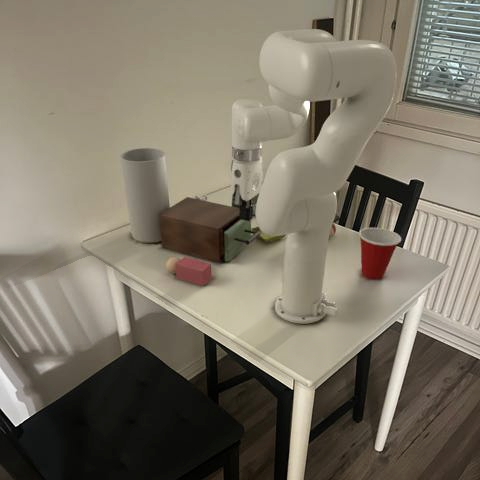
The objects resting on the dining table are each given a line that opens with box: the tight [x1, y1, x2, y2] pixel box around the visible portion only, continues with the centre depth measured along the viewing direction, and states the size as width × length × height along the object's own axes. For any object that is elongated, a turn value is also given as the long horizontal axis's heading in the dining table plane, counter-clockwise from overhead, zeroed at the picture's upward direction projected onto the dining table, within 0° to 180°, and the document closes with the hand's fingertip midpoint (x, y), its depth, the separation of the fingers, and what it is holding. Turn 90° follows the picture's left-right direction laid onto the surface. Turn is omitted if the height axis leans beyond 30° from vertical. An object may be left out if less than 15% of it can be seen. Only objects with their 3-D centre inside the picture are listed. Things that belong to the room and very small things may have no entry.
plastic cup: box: [358, 227, 402, 280], centre depth 130 cm, size 11×11×12 cm
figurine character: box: [329, 214, 342, 238], centre depth 147 cm, size 7×8×15 cm
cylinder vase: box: [119, 147, 171, 244], centre depth 146 cm, size 12×12×25 cm
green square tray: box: [251, 226, 288, 244], centre depth 151 cm, size 9×9×2 cm
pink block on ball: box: [165, 256, 213, 287], centre depth 131 cm, size 13×5×5 cm, turn 62°
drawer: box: [220, 216, 261, 263], centre depth 142 cm, size 24×14×9 cm, turn 62°
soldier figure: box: [194, 195, 208, 201], centre depth 166 cm, size 8×5×12 cm
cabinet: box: [159, 196, 240, 264], centre depth 144 cm, size 20×15×11 cm
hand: (245, 219), depth 135 cm, fingers closed
